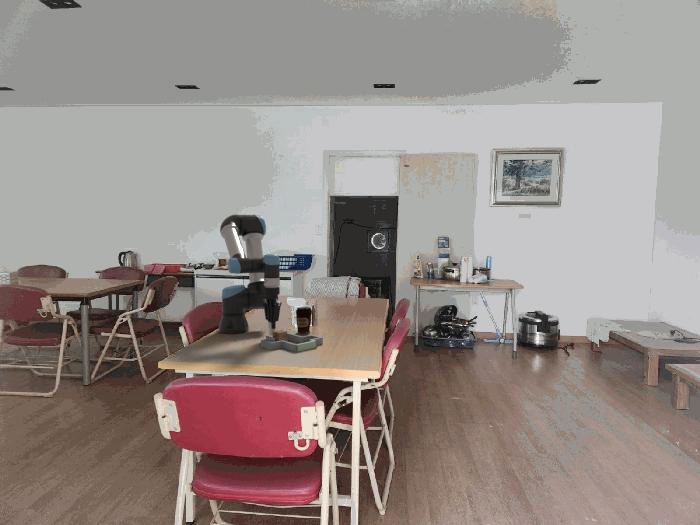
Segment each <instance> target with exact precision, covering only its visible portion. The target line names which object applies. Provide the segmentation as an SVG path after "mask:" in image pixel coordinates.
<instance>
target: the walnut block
mask: <svg viewBox="0 0 700 525" xmlns="http://www.w3.org/2000/svg"><path fill="white" fill-rule="evenodd" d="M272 333H273V336H272V337H273V338H275V342H277V341H282V340H283V341H287V342H288V340H287V333H288V331H287V330H284V329H278V330H275V331H272Z"/></svg>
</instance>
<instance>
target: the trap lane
mask: <svg viewBox="0 0 700 525" xmlns="http://www.w3.org/2000/svg"><path fill="white" fill-rule="evenodd" d="M288 340H289V341H288ZM291 341H292V342H291ZM294 342H295V343H294ZM323 344H324V338H323V337H322V336H318V335H314V334H307V335H303V336H301V335H297V334H294V333H289V332H287V341H283V340H282V341H277V342H275V338H273V336H269V335H266V336H265V339H260V347H261V348H264V349H267V350H270V351H273V350H277V349H286V350H288V351H291V352H295V353H297V352H302V351H306V350H311V349H315V348H318V346H319V345H320V346H321V345H323Z"/></svg>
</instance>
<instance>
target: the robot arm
mask: <svg viewBox="0 0 700 525" xmlns="http://www.w3.org/2000/svg"><path fill="white" fill-rule="evenodd" d="M266 225H267V224H266V221H265V219H264V216H262V215H257V214H232V215H229V216H227V217H226V218H225V219H224V220H223V221H222V222H221V224H220V228H219V233H220V235H221V237H222V238H223V239H224V242H225V245H226V249H227V251H228V255H229V258H228V261H227V268H228V269H227V271H228V273H229V274H235V275H239V274H248V276H249V282H248V283H247V285H244V284H234V285H229V286H225V287H224V288H223V289H222V291H221V319H220V321H219V325H218V332H219V333H221V334H241V333H242V334H243V333H247V332H248V331H249V329H250V327H249V322H248V320H247V316H246V311H250V310H252V311H253V310H264V316H265V320H266V321H267V322H268V336H270V337H273V333H272V331H276V328H277V327H276V322H279V318H280V312H281V306H282V303H283V302H281V301H279V295H280V293H281V288H280V286H281V283H280V280H281V278H280V275H281V274H280V272H281V269H280V262H281V261H280V255H279V254H276V253H270V254H269V253H267V254H264V253H263V245H262V240H263V239H264V237H265V236H266V233H267V226H266ZM240 236H241V238H242V241H244V242H245V250H246V251H245V250H244V248H243V245H242V244H243V243H242V241H241V238H240ZM246 286H247V287H246Z"/></svg>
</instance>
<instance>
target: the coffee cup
mask: <svg viewBox="0 0 700 525" xmlns="http://www.w3.org/2000/svg"><path fill="white" fill-rule="evenodd" d="M312 314H313V309H312V307H311V306H310V307H309V306H301V307H297V308H296V310H295V316H296V317H295V318H296V329H297V333H298V334H302V335H303V334H304V335H305V334H310V333H311V331H310V329H311V325H312Z"/></svg>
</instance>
